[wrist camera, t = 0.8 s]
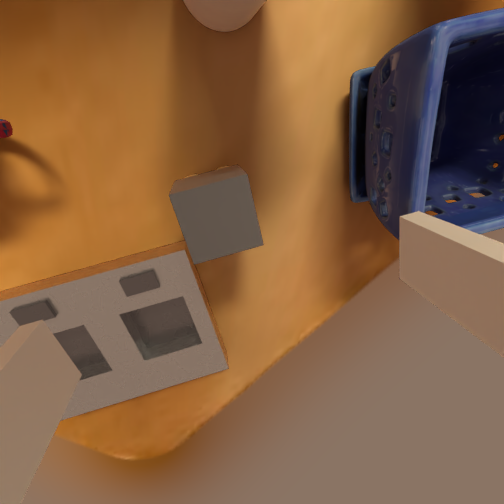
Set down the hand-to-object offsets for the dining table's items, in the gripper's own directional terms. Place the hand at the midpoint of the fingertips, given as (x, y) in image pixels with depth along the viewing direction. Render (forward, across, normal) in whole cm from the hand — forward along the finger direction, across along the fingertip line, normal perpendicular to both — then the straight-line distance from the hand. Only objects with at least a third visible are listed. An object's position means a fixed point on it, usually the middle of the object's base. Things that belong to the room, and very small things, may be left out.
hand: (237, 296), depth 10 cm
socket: (+18, -14, -12) cm, 26 cm away
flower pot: (+19, +19, +1) cm, 27 cm away
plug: (+18, 0, 0) cm, 18 cm away
